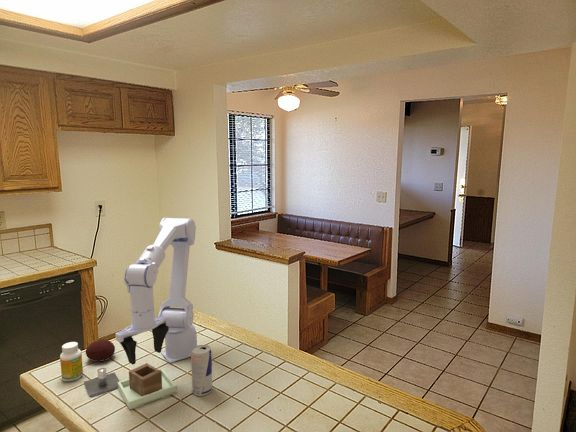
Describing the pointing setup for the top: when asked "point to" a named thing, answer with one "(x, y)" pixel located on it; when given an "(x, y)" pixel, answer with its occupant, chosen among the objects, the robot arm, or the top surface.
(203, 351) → the energy drink
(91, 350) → the potato
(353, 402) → the top surface
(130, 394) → the tray
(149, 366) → the brown wooden box
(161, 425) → the top surface
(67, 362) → the supplement bottle
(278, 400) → the top surface
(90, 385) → the light stand
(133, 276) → the robot arm
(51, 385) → the top surface
